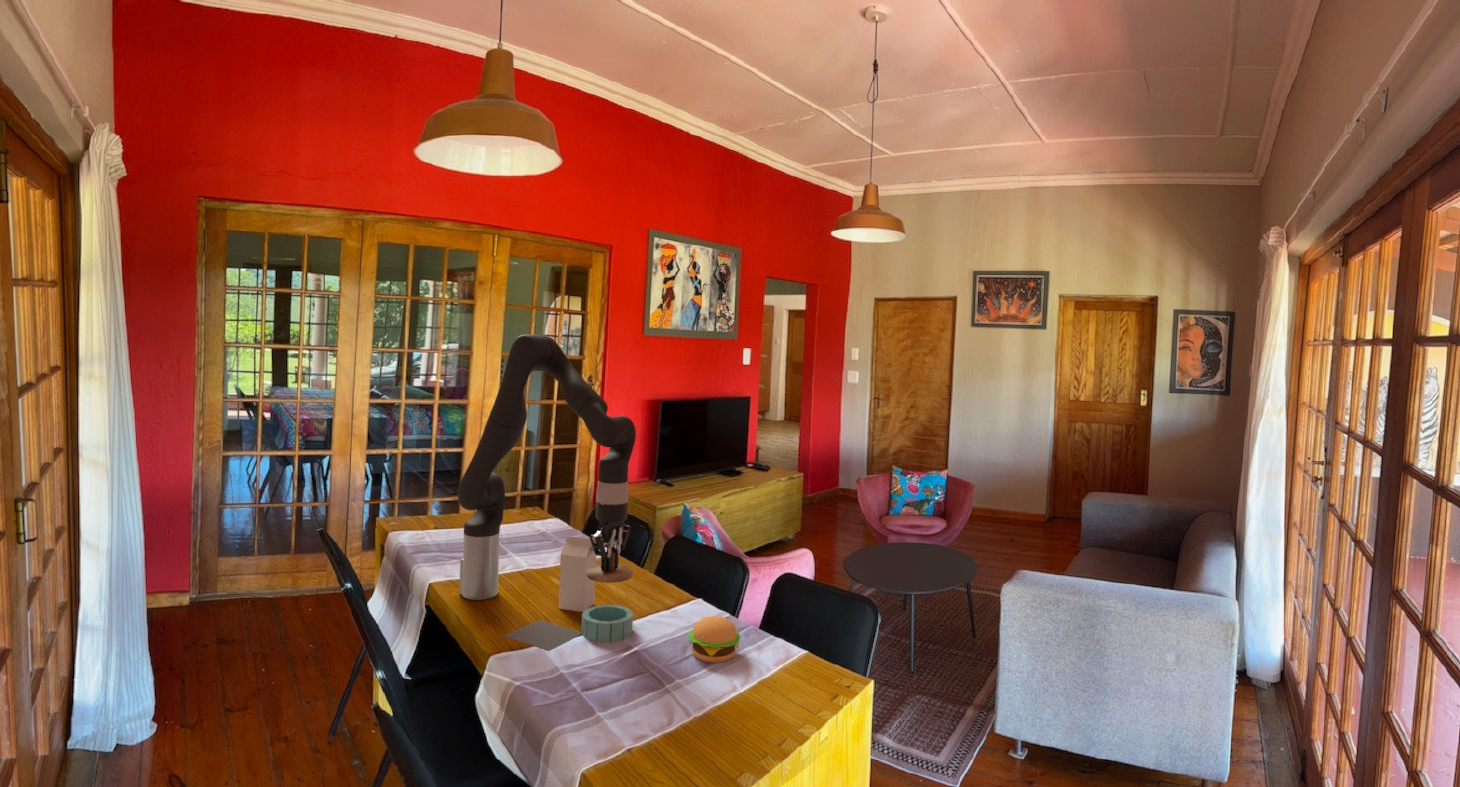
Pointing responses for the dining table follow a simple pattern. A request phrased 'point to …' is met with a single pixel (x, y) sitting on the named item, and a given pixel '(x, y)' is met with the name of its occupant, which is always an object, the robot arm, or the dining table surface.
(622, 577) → the lid
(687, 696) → the dining table surface
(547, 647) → the mat
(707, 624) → the hamburger
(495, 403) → the robot arm
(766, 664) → the dining table surface
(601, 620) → the bowl
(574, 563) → the milk carton
